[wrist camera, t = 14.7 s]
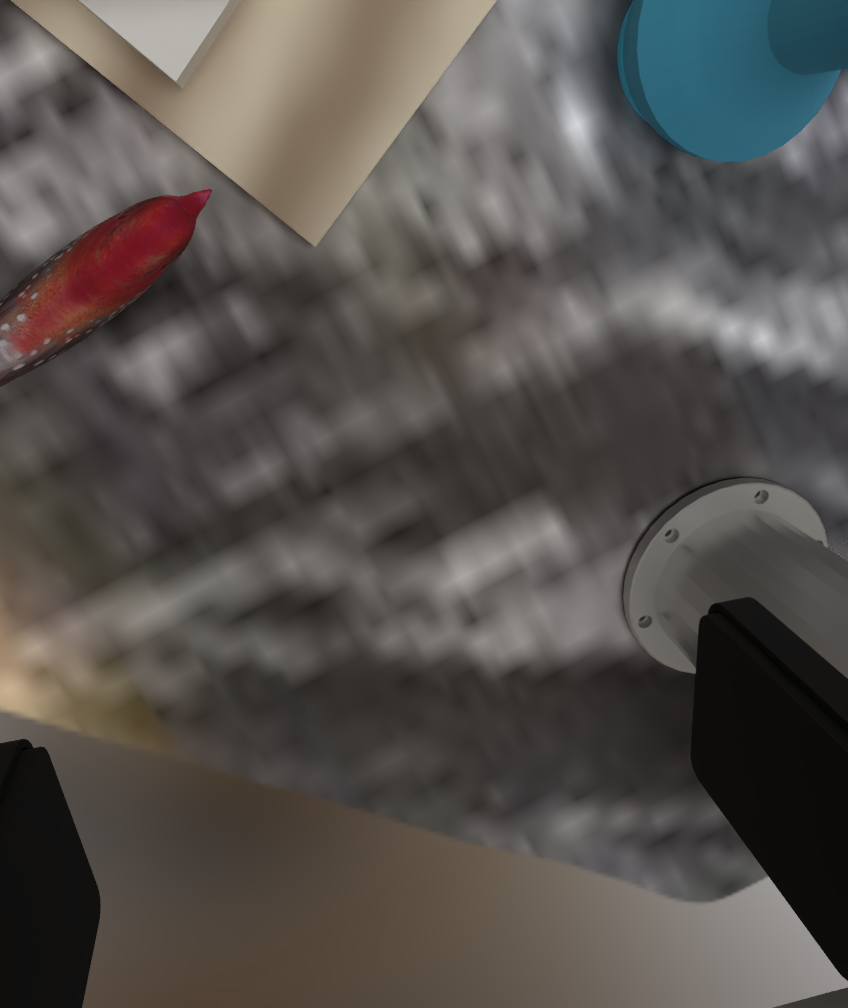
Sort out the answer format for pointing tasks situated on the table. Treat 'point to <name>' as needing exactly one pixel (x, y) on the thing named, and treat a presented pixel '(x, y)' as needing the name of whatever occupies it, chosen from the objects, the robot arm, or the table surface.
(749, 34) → the perfume bottle
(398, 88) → the board
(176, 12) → the block
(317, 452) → the table surface
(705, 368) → the table surface
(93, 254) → the decorative bird figurine
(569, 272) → the table surface
